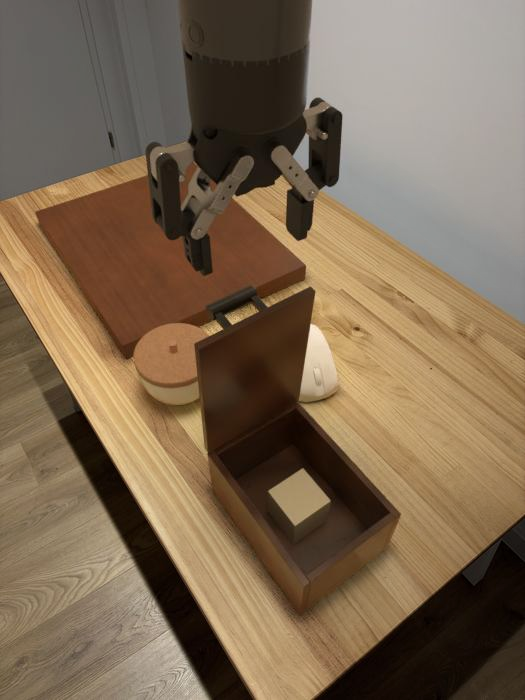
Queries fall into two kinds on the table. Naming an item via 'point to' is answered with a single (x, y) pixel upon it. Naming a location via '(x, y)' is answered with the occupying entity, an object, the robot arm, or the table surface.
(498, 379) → the table surface
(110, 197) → the brown flat wooden slab
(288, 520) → the block
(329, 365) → the computer mouse
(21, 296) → the table surface
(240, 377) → the lid
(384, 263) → the table surface
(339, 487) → the chest
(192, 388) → the trinket box
